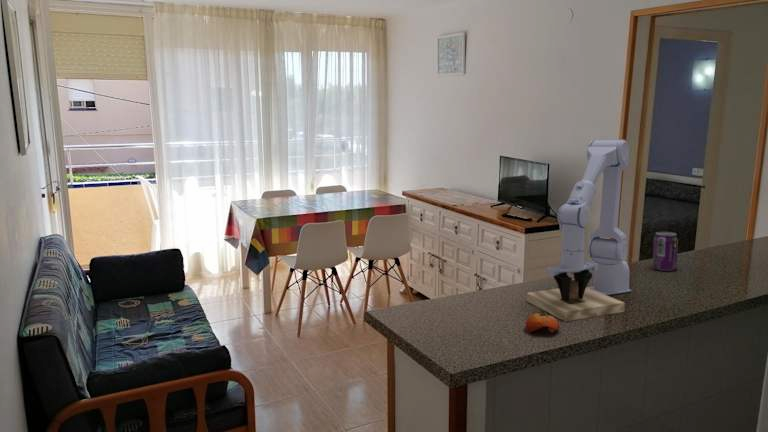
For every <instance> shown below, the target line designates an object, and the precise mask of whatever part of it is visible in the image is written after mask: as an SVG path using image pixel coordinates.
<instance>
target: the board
mask: <svg viewBox="0 0 768 432" xmlns="http://www.w3.org/2000/svg"><path fill="white" fill-rule="evenodd" d="M587 287H588V286H586V289H585V292H584V295H583V299H579V300H578V301H577V303H576V304H568V303H566V302H565V301H564V300H562V298H561V293H560V290H559V287H557V288H551V289H545V290H538V291H530V292H526V302H527V303H529V304H531V305H533V306H535V307H537V308H538V309H541V311H542V310H545V313H546V312H547V313H549V314H550V315H551V316H553V317H556V318H558V319H560V320H562V321H564V322H570V321H576V320H582V319H588V318H589V319H590V318H593V317H601V316H608V315H614V314H619V313H625V309H626V308H625V305H626V304H625V301H621V300H619V299H617V298H615V297H611V295H605V294H602V293H600V292H597V291H595V290H592V289H590V288H587Z"/></svg>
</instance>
